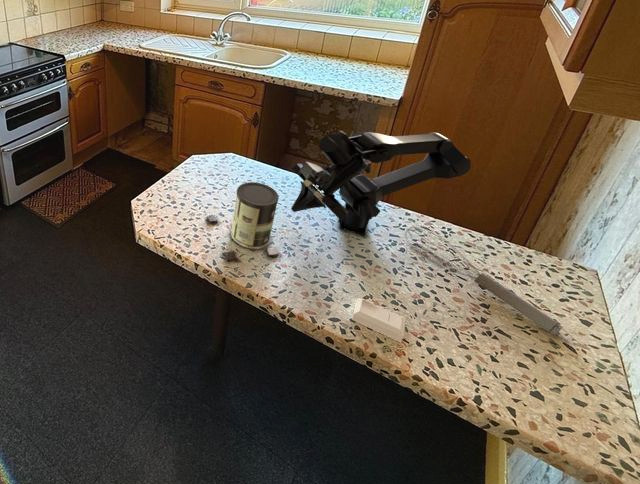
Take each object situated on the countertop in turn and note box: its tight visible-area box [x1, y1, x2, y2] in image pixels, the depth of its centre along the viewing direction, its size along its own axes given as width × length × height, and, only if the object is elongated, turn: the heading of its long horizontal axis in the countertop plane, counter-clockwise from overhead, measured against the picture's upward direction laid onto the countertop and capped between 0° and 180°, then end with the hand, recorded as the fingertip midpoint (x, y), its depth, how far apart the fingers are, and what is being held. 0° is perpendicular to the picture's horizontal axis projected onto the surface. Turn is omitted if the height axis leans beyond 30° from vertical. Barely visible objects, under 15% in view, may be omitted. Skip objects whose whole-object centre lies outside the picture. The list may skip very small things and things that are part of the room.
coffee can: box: [230, 181, 280, 250], centre depth 105 cm, size 10×10×14 cm
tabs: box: [206, 215, 279, 262], centre depth 108 cm, size 13×17×1 cm
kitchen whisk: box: [404, 225, 574, 342], centre depth 92 cm, size 6×34×6 cm, turn 26°
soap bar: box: [351, 297, 406, 343], centre depth 84 cm, size 5×9×3 cm, turn 54°
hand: (292, 210), depth 106 cm, fingers closed
